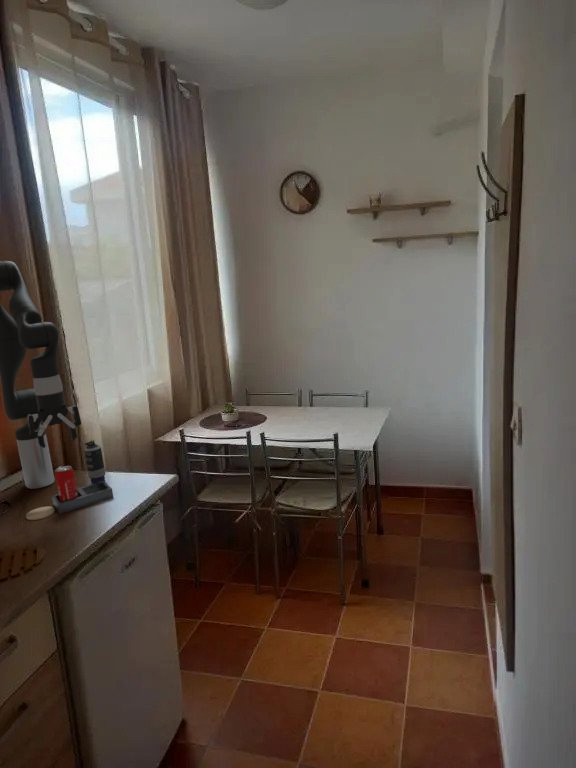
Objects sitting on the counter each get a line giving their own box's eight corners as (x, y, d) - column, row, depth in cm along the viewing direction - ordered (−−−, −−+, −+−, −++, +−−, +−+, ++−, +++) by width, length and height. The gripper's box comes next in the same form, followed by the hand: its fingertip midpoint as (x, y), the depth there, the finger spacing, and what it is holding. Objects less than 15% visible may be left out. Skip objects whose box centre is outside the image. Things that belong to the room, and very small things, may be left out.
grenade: (101, 486, 180) (94, 443, 177) (82, 486, 181) (75, 443, 178) (109, 479, 185) (102, 438, 182) (91, 480, 186) (84, 438, 183)
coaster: (24, 514, 163) (23, 512, 163) (52, 505, 167) (51, 504, 167) (28, 522, 156) (28, 520, 156) (57, 513, 161) (57, 512, 160)
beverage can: (73, 508, 163) (66, 471, 161) (57, 509, 164) (50, 471, 162) (82, 501, 168) (75, 465, 166) (67, 501, 169) (60, 465, 167)
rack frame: (53, 504, 168) (51, 495, 167) (105, 489, 176) (103, 480, 176) (59, 513, 160) (58, 504, 160) (113, 497, 169) (112, 488, 168)
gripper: (71, 384, 166) (79, 435, 169) (20, 394, 158) (30, 446, 161) (77, 388, 160) (86, 440, 163) (24, 397, 152) (35, 452, 155)
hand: (58, 443), depth 162 cm, fingers open, 8 cm apart
